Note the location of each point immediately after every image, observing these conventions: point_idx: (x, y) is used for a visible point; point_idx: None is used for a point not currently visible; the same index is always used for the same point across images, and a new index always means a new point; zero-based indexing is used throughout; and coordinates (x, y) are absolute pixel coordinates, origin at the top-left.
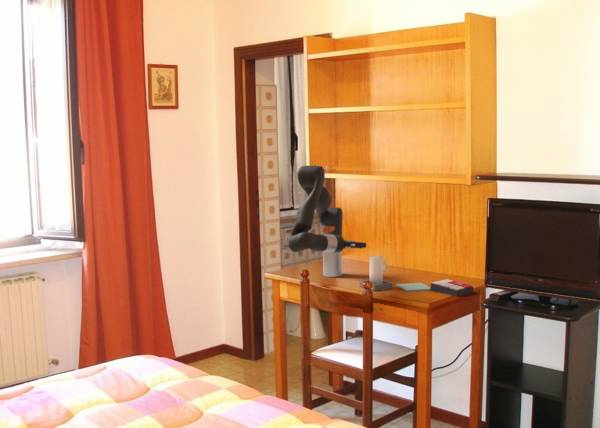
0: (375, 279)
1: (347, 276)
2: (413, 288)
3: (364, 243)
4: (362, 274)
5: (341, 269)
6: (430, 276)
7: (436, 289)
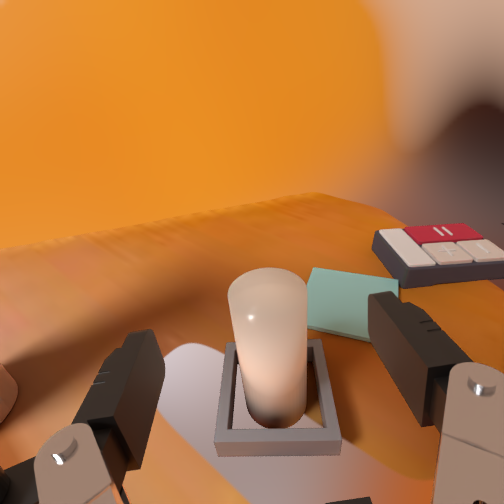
0: (299, 392)
1: (48, 375)
2: None
3: (400, 310)
4: (88, 320)
5: (3, 372)
6: (252, 228)
7: (430, 280)
